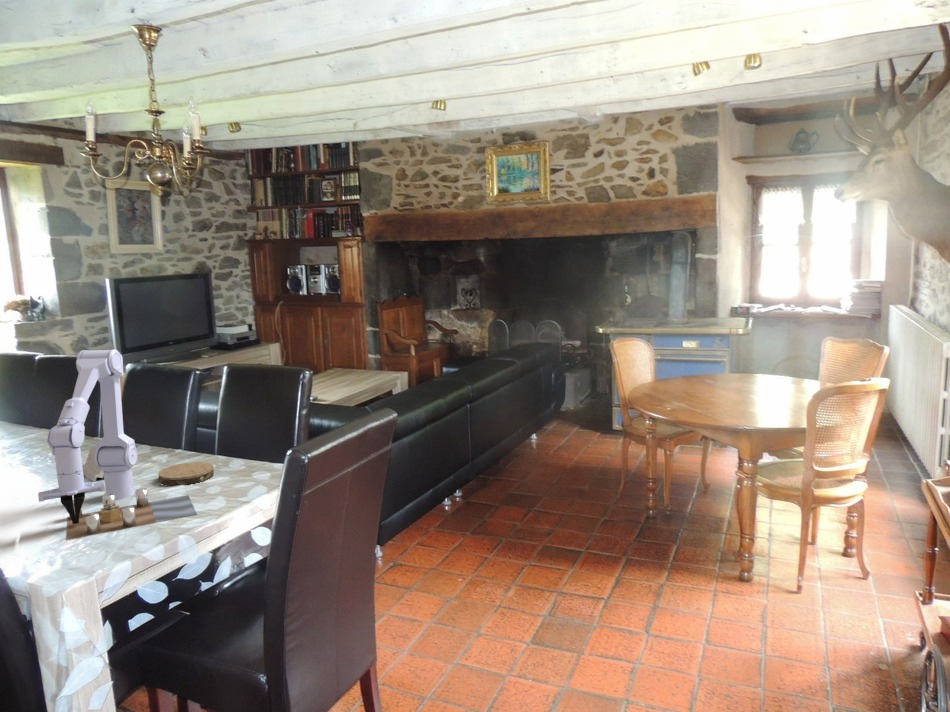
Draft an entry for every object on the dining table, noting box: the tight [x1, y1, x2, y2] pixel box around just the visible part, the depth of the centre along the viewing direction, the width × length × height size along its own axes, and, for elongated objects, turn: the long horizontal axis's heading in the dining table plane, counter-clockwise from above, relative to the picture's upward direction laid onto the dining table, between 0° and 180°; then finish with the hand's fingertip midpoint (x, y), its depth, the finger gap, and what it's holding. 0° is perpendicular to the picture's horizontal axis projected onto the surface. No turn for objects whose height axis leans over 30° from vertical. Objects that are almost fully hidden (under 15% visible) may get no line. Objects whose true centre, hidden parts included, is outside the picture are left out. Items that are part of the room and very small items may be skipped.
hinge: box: [82, 445, 104, 483], centre depth 221 cm, size 17×5×10 cm, turn 44°
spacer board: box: [65, 494, 198, 541], centre depth 181 cm, size 18×30×1 cm, turn 120°
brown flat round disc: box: [158, 461, 215, 487], centre depth 214 cm, size 16×16×3 cm
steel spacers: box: [68, 487, 150, 535], centre depth 178 cm, size 17×19×4 cm
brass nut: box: [99, 505, 120, 523], centre depth 179 cm, size 5×4×3 cm
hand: (75, 522), depth 175 cm, fingers closed
